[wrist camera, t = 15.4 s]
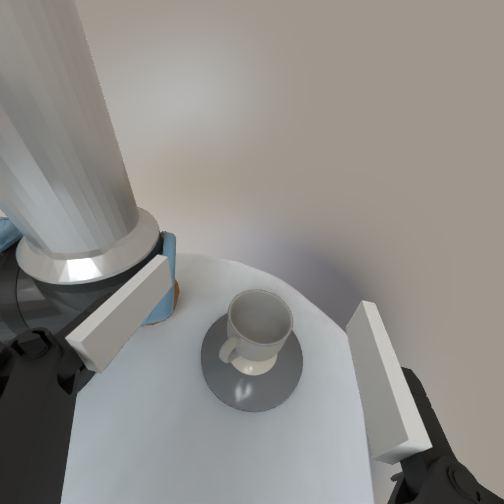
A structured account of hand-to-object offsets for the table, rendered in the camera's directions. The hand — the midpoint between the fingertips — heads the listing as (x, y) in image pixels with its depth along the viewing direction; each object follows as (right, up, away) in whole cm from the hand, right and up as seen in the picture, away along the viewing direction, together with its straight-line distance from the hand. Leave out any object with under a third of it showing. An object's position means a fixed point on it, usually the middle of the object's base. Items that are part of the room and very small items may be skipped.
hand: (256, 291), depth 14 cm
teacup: (-1, -14, +22) cm, 27 cm away
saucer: (0, -15, +23) cm, 27 cm away
